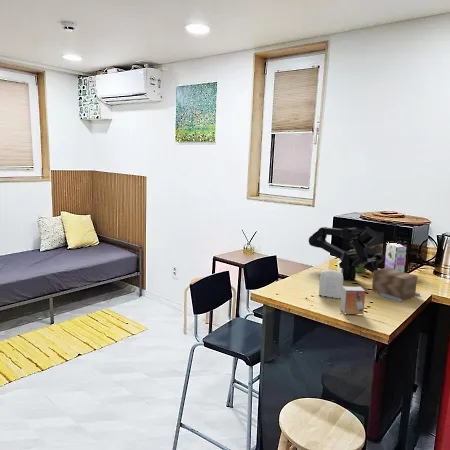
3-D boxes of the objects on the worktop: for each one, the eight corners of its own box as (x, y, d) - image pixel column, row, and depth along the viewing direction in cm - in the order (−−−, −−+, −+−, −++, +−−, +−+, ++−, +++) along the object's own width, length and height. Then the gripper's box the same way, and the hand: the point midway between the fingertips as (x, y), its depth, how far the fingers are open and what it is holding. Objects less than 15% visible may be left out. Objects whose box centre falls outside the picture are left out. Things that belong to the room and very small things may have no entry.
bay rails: (380, 295, 180) (380, 293, 180) (400, 289, 189) (400, 287, 189) (399, 302, 172) (400, 299, 172) (419, 295, 181) (420, 293, 181)
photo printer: (342, 296, 178) (343, 270, 176) (341, 299, 174) (343, 272, 172) (319, 293, 181) (320, 268, 179) (318, 296, 177) (320, 270, 175)
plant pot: (366, 275, 213) (368, 255, 211) (345, 271, 219) (346, 252, 217) (372, 270, 223) (373, 251, 221) (351, 266, 229) (352, 248, 227)
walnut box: (371, 290, 187) (373, 270, 186) (384, 287, 193) (385, 267, 191) (403, 300, 174) (405, 279, 173) (415, 296, 180) (417, 275, 178)
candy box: (404, 276, 212) (407, 247, 209) (393, 276, 212) (396, 246, 209) (394, 269, 225) (396, 241, 223) (383, 269, 225) (386, 241, 223)
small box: (343, 315, 156) (345, 290, 155) (339, 310, 162) (341, 285, 160) (363, 315, 156) (365, 290, 155) (359, 310, 162) (360, 286, 160)
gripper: (359, 241, 186) (378, 269, 179) (383, 238, 196) (401, 264, 189) (345, 254, 194) (362, 281, 186) (368, 250, 204) (385, 275, 197)
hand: (378, 275), depth 189 cm, fingers closed
